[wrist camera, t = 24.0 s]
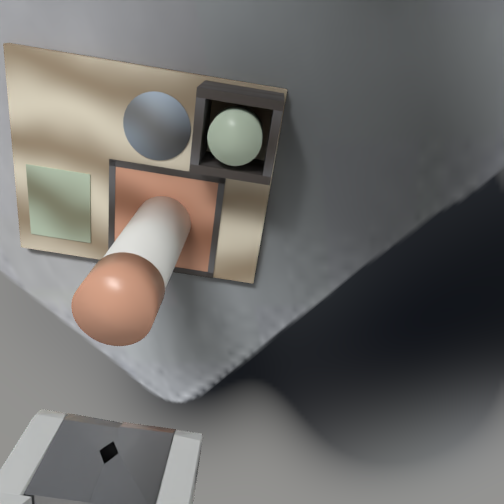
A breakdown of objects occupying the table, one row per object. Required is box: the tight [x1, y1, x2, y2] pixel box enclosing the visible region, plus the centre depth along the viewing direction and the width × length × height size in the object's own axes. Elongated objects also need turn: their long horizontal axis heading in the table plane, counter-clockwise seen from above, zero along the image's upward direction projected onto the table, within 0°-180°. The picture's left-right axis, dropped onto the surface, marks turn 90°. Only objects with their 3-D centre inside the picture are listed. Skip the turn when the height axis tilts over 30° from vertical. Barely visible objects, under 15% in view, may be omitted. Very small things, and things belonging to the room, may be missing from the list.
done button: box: [207, 106, 263, 166], centre depth 31 cm, size 4×4×2 cm
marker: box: [72, 196, 191, 346], centre depth 32 cm, size 5×5×13 cm
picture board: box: [3, 43, 287, 284], centre depth 35 cm, size 16×20×5 cm
